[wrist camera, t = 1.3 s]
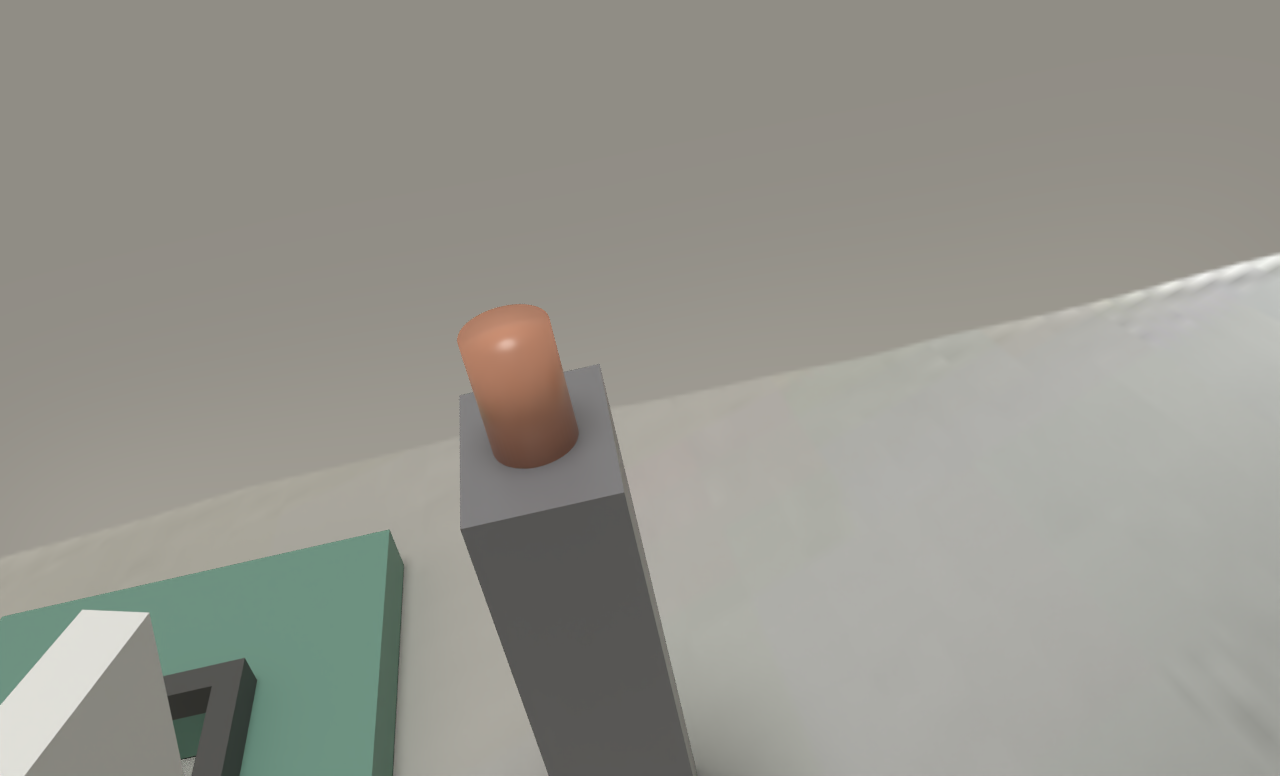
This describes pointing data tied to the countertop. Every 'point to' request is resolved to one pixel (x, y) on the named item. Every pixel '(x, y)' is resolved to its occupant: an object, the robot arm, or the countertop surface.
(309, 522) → the countertop surface
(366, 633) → the board
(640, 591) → the plug
